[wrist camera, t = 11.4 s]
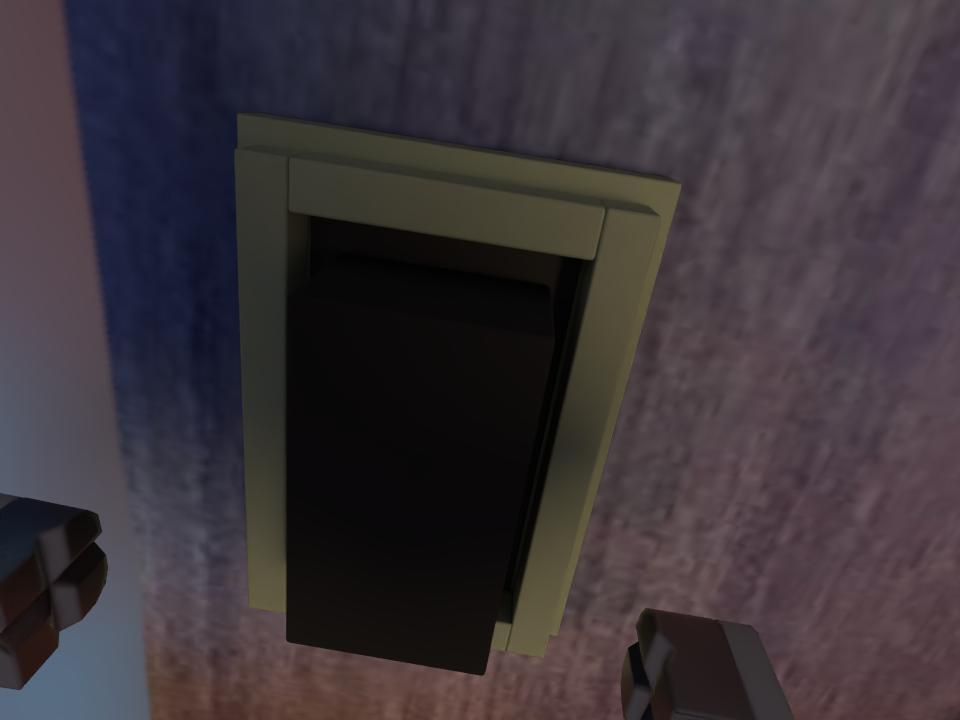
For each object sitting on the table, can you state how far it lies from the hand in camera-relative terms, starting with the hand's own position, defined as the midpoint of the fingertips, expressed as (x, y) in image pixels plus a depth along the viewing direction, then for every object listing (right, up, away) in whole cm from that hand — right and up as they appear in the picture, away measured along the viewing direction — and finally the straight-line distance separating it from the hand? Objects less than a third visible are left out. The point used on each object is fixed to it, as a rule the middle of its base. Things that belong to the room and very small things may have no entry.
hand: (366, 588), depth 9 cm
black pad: (0, +2, +5) cm, 5 cm away
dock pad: (+1, +2, +6) cm, 7 cm away
